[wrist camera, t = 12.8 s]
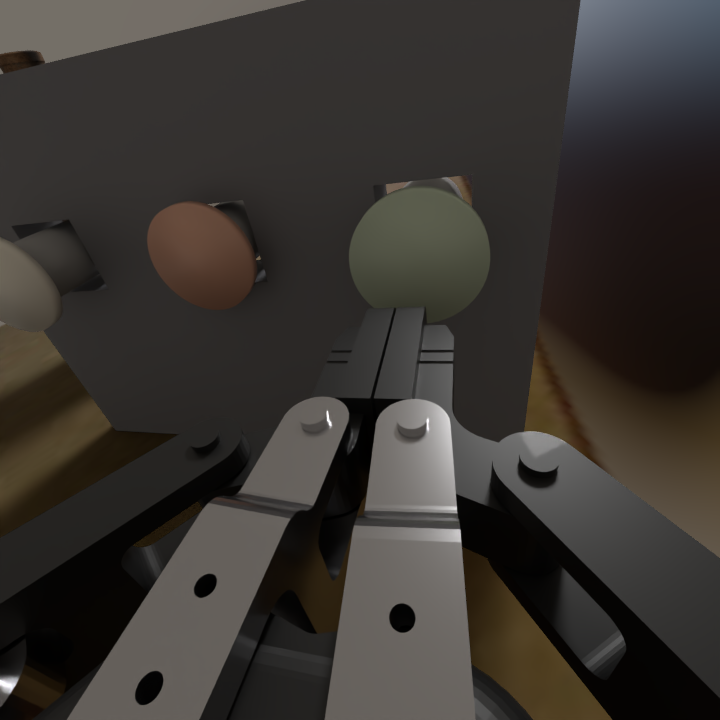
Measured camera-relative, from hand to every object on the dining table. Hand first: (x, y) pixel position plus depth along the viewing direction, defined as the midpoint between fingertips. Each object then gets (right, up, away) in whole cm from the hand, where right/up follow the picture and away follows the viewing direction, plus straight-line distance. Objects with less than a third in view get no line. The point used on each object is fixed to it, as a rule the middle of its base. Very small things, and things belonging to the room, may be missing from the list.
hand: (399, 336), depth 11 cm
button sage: (+2, +3, +7) cm, 8 cm away
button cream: (-17, +3, +12) cm, 22 cm away
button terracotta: (-7, +4, +11) cm, 14 cm away
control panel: (-5, -4, +20) cm, 21 cm away
